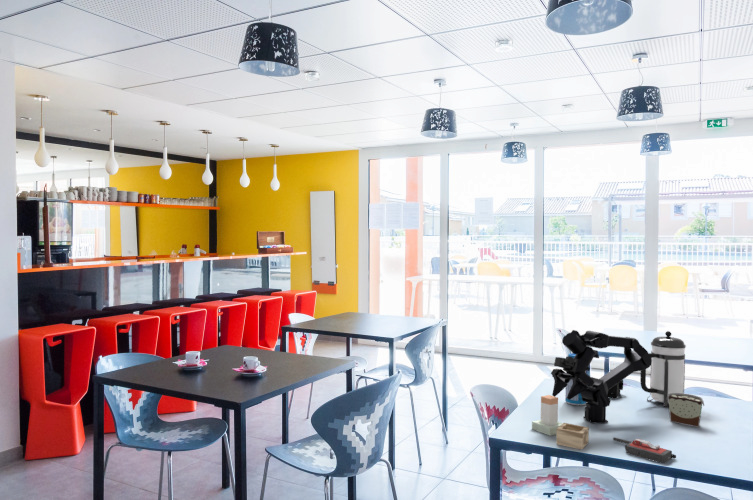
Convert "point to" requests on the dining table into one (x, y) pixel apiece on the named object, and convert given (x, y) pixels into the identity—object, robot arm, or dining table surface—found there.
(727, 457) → the dining table surface
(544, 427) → the tray
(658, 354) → the coffee press
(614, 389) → the digital camera
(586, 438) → the box
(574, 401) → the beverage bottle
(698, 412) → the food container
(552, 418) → the plug
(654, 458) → the walkie-talkie
